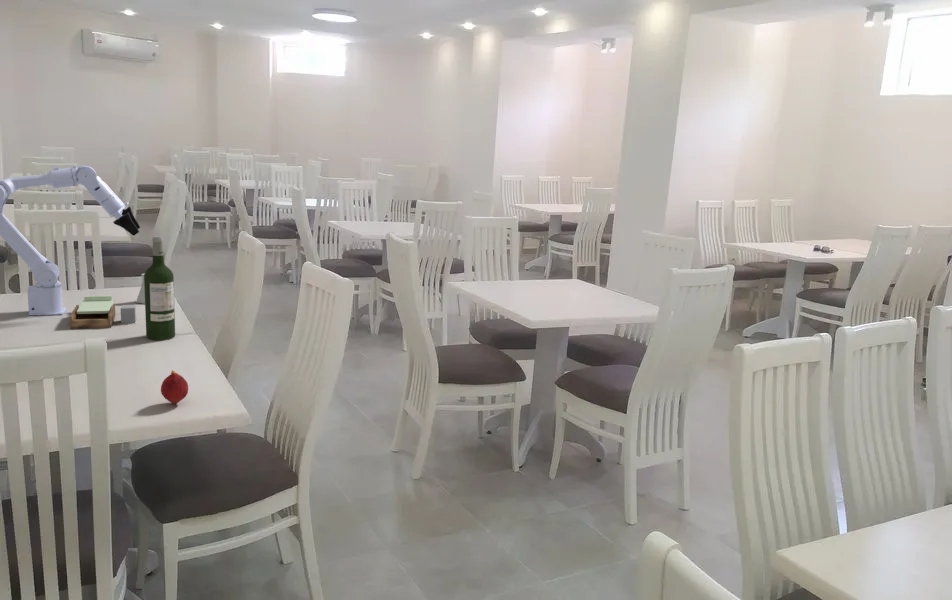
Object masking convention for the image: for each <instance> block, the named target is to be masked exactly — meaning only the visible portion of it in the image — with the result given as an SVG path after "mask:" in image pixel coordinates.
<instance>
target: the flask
mask: <svg viewBox="0 0 952 600" xmlns="http://www.w3.org/2000/svg"><path fill="white" fill-rule="evenodd" d="M144 274H145V272H144V273H141V279H142V280H141V286H140V289H139V292H138V296H137V299H136V303H137V304H144V305H145V288H144Z"/></svg>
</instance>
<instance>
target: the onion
mask: <svg viewBox="0 0 952 600" xmlns="http://www.w3.org/2000/svg"><path fill="white" fill-rule="evenodd" d="M170 372H171V373H170V374H169V375H167V376H166V377H165V378H164V380H163V381H162V383H161V385H160V394H161V395H162V397H163V398H164V399H165V400H166V401H168V402H169V403H171V404H172V405H176V404H178V403H180V402H181V401H183V400H184V399H185V398H186V397H187V395H188V393H189V384H188V381H187V380H186V379H185V378H184V377H183V375H181V374H178V373H177V372H176V371H175V370H171V371H170Z"/></svg>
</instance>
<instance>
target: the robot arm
mask: <svg viewBox="0 0 952 600" xmlns="http://www.w3.org/2000/svg"><path fill="white" fill-rule="evenodd" d="M46 185H50V186H51V187H53V188H54V189H58V188H66V187H67V188H68V187H77V186H78V185H81V186H84V188H86V190H87V191H88V193H89V194H90V195H91V196H92V197H93V199H95V201H96V202H97V203H98V204H99V205H100V206H101V207H102V208H103V209H104V211H105V212H106V213H107V214H108V216H109V217H110V218H112V217H114V218H115V220H113V225H116V226H117V227H121V228H123V229H124V230H125V231H126V232H127V233H129V234H130V235H132V236H134V237H135V236H136V235H137V234H138V233H140V231H139V229H140V228H141V226H140V224H139V222H138V221H137V219H136V217H135V216H134V213H133V211H132V207H131V206H128V205H129V202H128V201H126V202H123V201H122V199H121V198H120V197H118V195H117V194H116V193H115V192H114V191H113V190H112V189H111V188H110V186H109V185H108V184H107V183H106V182H105V181H103V179H102V177H100V176H99V175H97V172H96V170H95V169H94V168H93V167H91V166H90V165H80V166H79V167H78V166H77V165H72V167H65V168H60V166H55V167H54V169H53V168H52V169H50V170H49V171H48V172H47V174H35V175H33V174H32V175H21V176H12V177H7V178H2V179H0V238H2V239H3V240H4V241H5V242H6V243H7V245H8V246H9V247H11V249H12V250H13V251H14V252H15V253H16V254H17V255H18V256H19V257H20V258H21V260H23V261H24V262H25V264H26V265H27V266H28V268H29V270H30V271H31V272H32V274H33V275H34V280H35V281H36V283H35V285H29V286H28V288H27V305H28V316H48V315H50V316H54V315H57V316H58V315H63V314H64V313H65V311H66V310H67V307H65V306H64V303H63V288H62V282H60V281H59V277H60V275H61V270H60V267H59V266H58V265H57V264H56V263H54V262H52V261H49V260H48V259H47V257H46V256H44V255H42V254H41V253H40V252H39V251H38V250H37V249H36V247H35V246H33V244H32V243H31V242H30V241H29V240H28V239H27V238H26V237H25V236H24V235H23V234H22V232H21V231H20V230H19V229H18V228H17V227H16V226H15V225H14V224H13V223H12V221H10V220H9V218H8V217H7V216H5V214H4V212H5V206H6V202H7V201H8V199H9V197H10V195H11V194H13V193H15V192H17V191H19V190H20V189H25V188H30V187H33V188H34V187H39V186H40V187H41V186H46ZM127 206H128V207H127ZM126 207H127V208H126Z"/></svg>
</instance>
